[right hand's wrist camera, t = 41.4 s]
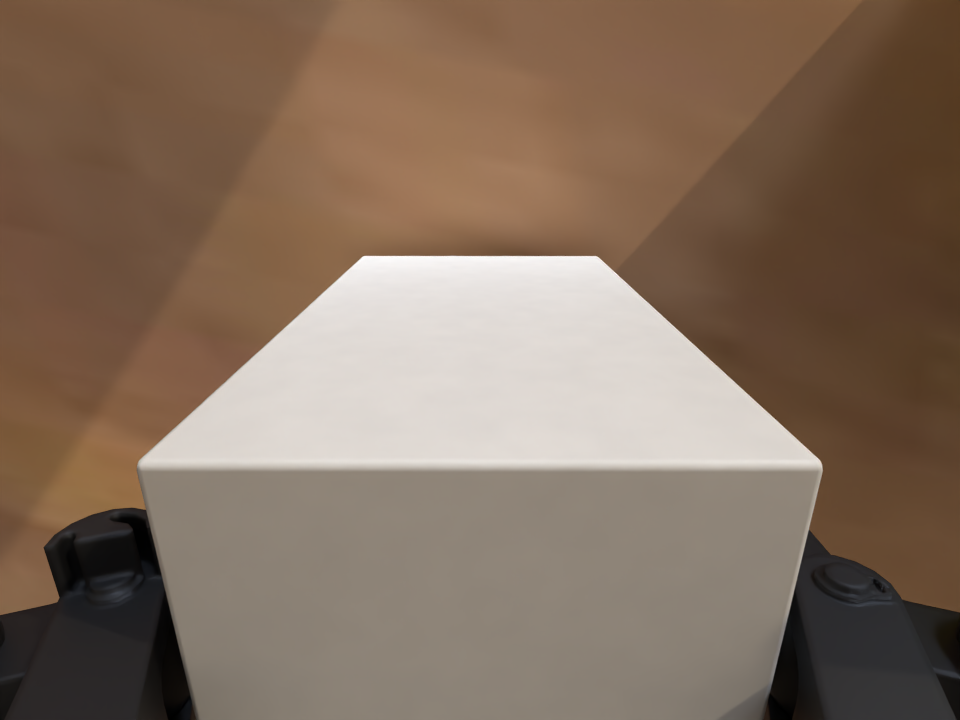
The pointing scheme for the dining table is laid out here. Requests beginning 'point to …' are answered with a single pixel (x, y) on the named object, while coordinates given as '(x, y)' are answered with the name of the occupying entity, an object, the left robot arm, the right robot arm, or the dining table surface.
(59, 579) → the right robot arm
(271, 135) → the dining table surface
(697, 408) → the brick
